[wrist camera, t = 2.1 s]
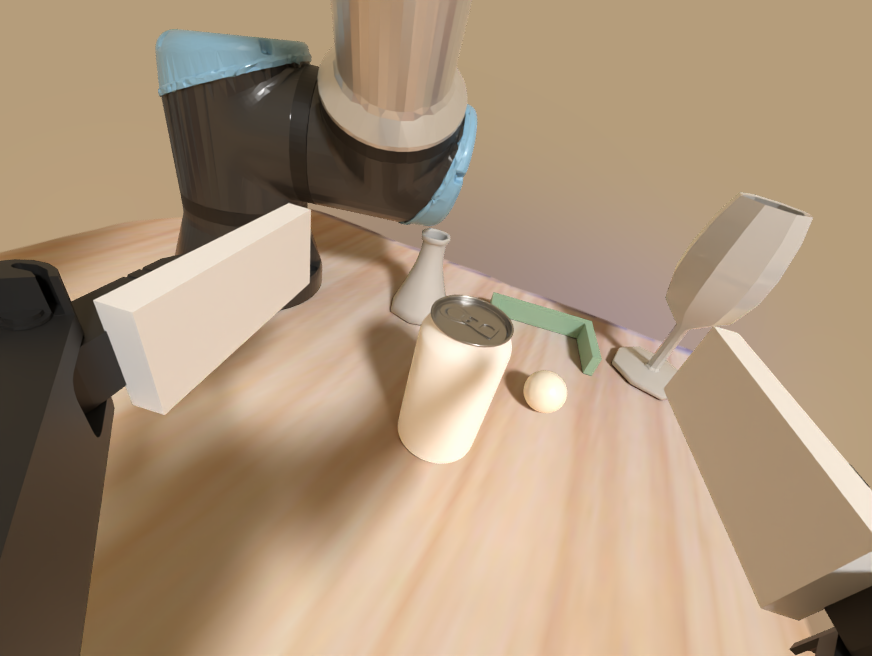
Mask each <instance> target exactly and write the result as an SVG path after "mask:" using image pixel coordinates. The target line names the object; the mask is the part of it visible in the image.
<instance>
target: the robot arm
mask: <svg viewBox="0 0 872 656" xmlns="http://www.w3.org/2000/svg"><path fill="white" fill-rule="evenodd" d="M471 2H472V0H331V9H332V20H333V31H334V42H335V45H334V46H333V47H331V48H330V49H329V51H328V52H327V53H326V55H325V56H324V58H323V60H322V62H321V64H320V67H318V66H314V65H310V62H311V55H310V53H309V49H308V46H307V45H306V44H305V43H303V42H298V41H288V40H278V39H268V38H258V37H248V36H239V35H228V34H219V33H209V32H199V31H189V30H178V29H172V30H168V31H165V32H163V33H162V34H161V35H160V36H159V38H158V40H157V42H156V60H157V70H158V80H159V89H158V93H159V96H160V97H162V102H163V107H164V112H165V118H166V123H167V127H168V133H169V138H170V143H171V148H172V153H173V158H174V163H175V168H176V173H177V178H178V183H179V188H180V193H181V199H182V204H183V211H184V213H183V218H182V223H181V228H180V233H179V238H178V243H177V248H176V253H175V256H171V257H167V258H162V259H160V260H158V261H156V262H154V263H151V264H149V265H147V266H145V267H143V270H140V269H139V270H137V271H135V272H132V273H130V274H128V276H127V277H122V278H120V279H118V280H116V281H114V282H111V283H109V284H107V285H105V286H103V287H101V288H99V289H97V290H95V291H93V292H90V293H88V294H86V295H84V296H82V297H80V298H78V299H76V300H74V301H72V302H71V300H70V298H69V296H68V293H67V291H66V288H65V286H64V284H63V281H62V279H61V277H60V274H59V272H58V269H57V268H55V267H53V266H52V265H50V264H48V263H44V262H40V261H35V260H4V261H0V656H80V651H81V643H82V636H83V629H84V622H85V615H86V608H87V601H88V593H89V586H90V579H91V572H92V565H93V558H94V551H95V543H96V536H97V529H98V522H99V515H100V508H101V501H102V493H103V486H104V479H105V472H106V465H107V458H108V451H109V443H110V436H111V429H112V422H113V415H114V404H113V400H112V398H111V396H112V395H114V394H115V393H116V392H118V391H119V390H120V389H122V388H123V387H124V386H126V389H127V391H128V394H129V397H130V399H131V402H132V405H135V406H138V407H141V408H144V409H147V410H150V411H153V412H156V413H160V414H163V415H165V414H166V413H167V412H168V411H170V410H171V409H172V408H173V407H174V406H175V405H176V404H177V403H178V402H179V401H181V400H182V399H183V398H184V397H185V396H186V395H187V394H188V393H189V392H190V391H192V390H193V389H194V388H195V387H196V386H197V385H198V384H199V383H200V382H201V381H203V380H204V379H205V378H206V377H207V376H208V375H209V374H210V373H211V372H212V371H214V370H215V369H216V368H217V367H218V366H219V365H220V364H221V363H222V362H223V361H225V360H226V359H227V358H228V357H229V356H230V355H231V354H232V353H233V352H234V351H236V350H237V349H238V348H239V347H240V346H241V345H242V344H243V343H244V342H245V341H246V340H248V339H249V338H250V337H251V336H252V335H253V334H254V333H255V332H256V331H257V330H259V329H260V328H261V327H262V326H263V325H264V324H265V323H266V322H267V321H268V320H270V319H271V318H272V317H273V316H274V315H275V314H276V313H277V312H278V311H279V310H282V309H286V308H289V307H292V306H295V305H298V304H300V303H302V302H304V301H306V300H308V299H309V298H310V297H312V296H313V295H314V294H315V293H316V292H317V291H318V289H319V288H320V286H321V282H322V262H321V258H320V255H319V252H318V249H317V246H316V243H315V240H314V237H313V234H312V231H311V209H307V202H308V203H313V204H318V205H323V206H327V207H332V208H337V209H342V210H347V211H351V212H356V213H360V214H365V215H369V216H374V217H379V218H383V219H387V220H392V221H396V222H399V223H401V224H406V225H408V224H416V225H423V226H434V225H436V224H439V223H440V222H442V221H443V220H444V219H445V218H446V216H447V215H448V214H449V212H450V211H451V209H452V207H453V205H454V203H455V201H456V199H457V197H458V195H459V192H460V190H461V187H462V184H463V177H464V175H465V174H466V172H467V169H468V167H469V164H470V160H471V156H472V152H473V148H474V143H475V138H476V130H477V114H476V111H475V110H474V108H473V107H472V106H470V105H468V104H467V90H466V85H465V82H464V80H463V77H462V75H461V73H460V72H459V70H458V68H457V62H458V58H459V54H460V50H461V45H462V41H463V36H464V32H465V28H466V23H467V20H468V15H469V11H470V7H471ZM664 392H665V394H666V396H667V398H668V401H669V403H670V405H671V407H672V410H673V412H674V414H675V416H676V419H677V421H678V423H679V425H680V428H681V430H682V432H683V434H684V437H685V439H686V441H687V443H688V446H689V448H690V450H691V452H692V455H693V457H694V459H695V461H696V464H697V466H698V468H699V470H700V473H701V475H702V477H703V479H704V482H705V484H706V486H707V488H708V491H709V493H710V495H711V497H712V500H713V502H714V504H715V506H716V509H717V511H718V513H719V515H720V518H721V520H722V522H723V524H724V527H725V529H726V531H727V533H728V536H729V538H730V540H731V542H732V545H733V547H734V549H735V551H736V554H737V556H738V558H739V560H740V563H741V565H742V567H743V569H744V572H745V574H746V576H747V578H748V581H749V583H750V585H751V587H752V590H753V592H754V594H755V596H756V599H757V601H758V603H759V605H760V608H761V609H764V610H767V611H771V612H774V613H777V614H780V615H783V616H786V617H789V618H792V619H795V620H798V621H799V620H801V619H803V618H806V617H808V616H810V615H812V614H814V613H817V612H819V611H821V610H823V609H825V611H826V612H827V614H828V616H829V617H830V619H831V621H832V623H833V624H834V627H833V628H831V629H828V630H826V631H823V632H821V633H819V634H816V635H814V636H811V637H809V638H806V639H804V640H801V641H799V642H796V643H794V644H793V646H792V647H791V648H790V650H791V651H792V652H793V653H794V654H795V655H797V654H800V653H803V652H805V651H812V652H813V653H815V656H872V491H871V489H870V488H869V486H868V484H867V483H866V482H865V481H864V480H863V479H862V477H861V476H860V475H859V474H858V473H857V471H856V470H855V469H854V468H853V467H852V466H851V465H850V464H849V463H848V462H847V461H846V460H845V459H844V458H843V456H842V455H841V454H840V453H839V452H838V450H837V449H836V448H835V447H834V446H833V445H832V443H831V442H830V441H829V440H828V439H827V437H826V436H825V435H824V434H823V433H822V432H821V430H820V429H819V428H818V427H817V426H816V424H815V423H814V422H813V421H812V420H811V419H810V417H809V416H808V415H807V414H806V413H805V411H804V410H803V409H802V408H801V407H800V406H799V404H798V403H797V402H796V401H795V400H794V398H793V397H792V396H791V395H790V394H789V392H788V391H787V390H786V389H785V388H784V387H783V385H782V384H781V383H780V382H779V381H778V379H777V378H776V377H775V376H774V375H773V374H772V372H771V371H770V370H769V369H768V368H767V367H766V365H765V364H764V363H763V362H762V361H761V359H760V358H759V357H758V356H757V355H756V354H755V353H754V351H753V350H752V349H751V348H750V347H749V345H748V344H747V343H746V342H745V340H744V339H743V338H742V337H741V336H740V335H739V333H736V332H733V331H729V330H725V329H722V328H718V327H715V326H713V327H712V329H711V330H710V331H709V332H708V333H707V335H706V336H705V337H704V339H703V340H702V341H701V342H700V344H699V345H698V346H697V347H696V349H695V350H694V351H693V352H692V354H691V355H690V356H689V357H688V359H687V360H686V361H685V362H684V364H683V365H682V366H681V367H680V369H679V370H678V371H677V372H676V374H675V375H674V376H673V377H672V379H671V380H670V381H669V382H668V384H667V385H666V386H665V387H664Z"/></svg>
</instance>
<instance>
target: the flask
mask: <svg viewBox="0 0 872 656" xmlns="http://www.w3.org/2000/svg"><path fill="white" fill-rule="evenodd" d="M422 240H423V244H422V248H421V251H420V253H419V256H418V258H417V261H416V262H415V264H414V266H413V267H412V269H411V271H410V272H409V274H408V276H407V277H406V279H405V281H404V282H403V284H402V285H401V287H400V288H399V290H398V291H397V293H396V294H395V296H394V298H393V301H392V306H391V312H393V313H394V314H396V315H397V316H399V317H400V318H402V319H403V320H405V321H406V322H408V323H411V324H417V325H421V324H422V322H423V320H424V319H425V317H426V316H427V315H428V314H429V313H430V312H431V307H432V305H433V304H434V302H435V301H437V300H438V299H440V298H442V297H445V296H446V294H445V286H444V276H443V258H444V252H445V248H446V245H447V244H449V242H450V235H449V234H447V233H445V232H443V231H441V230H437V229H432V228H428V229H424V230H423V231H422Z"/></svg>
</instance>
